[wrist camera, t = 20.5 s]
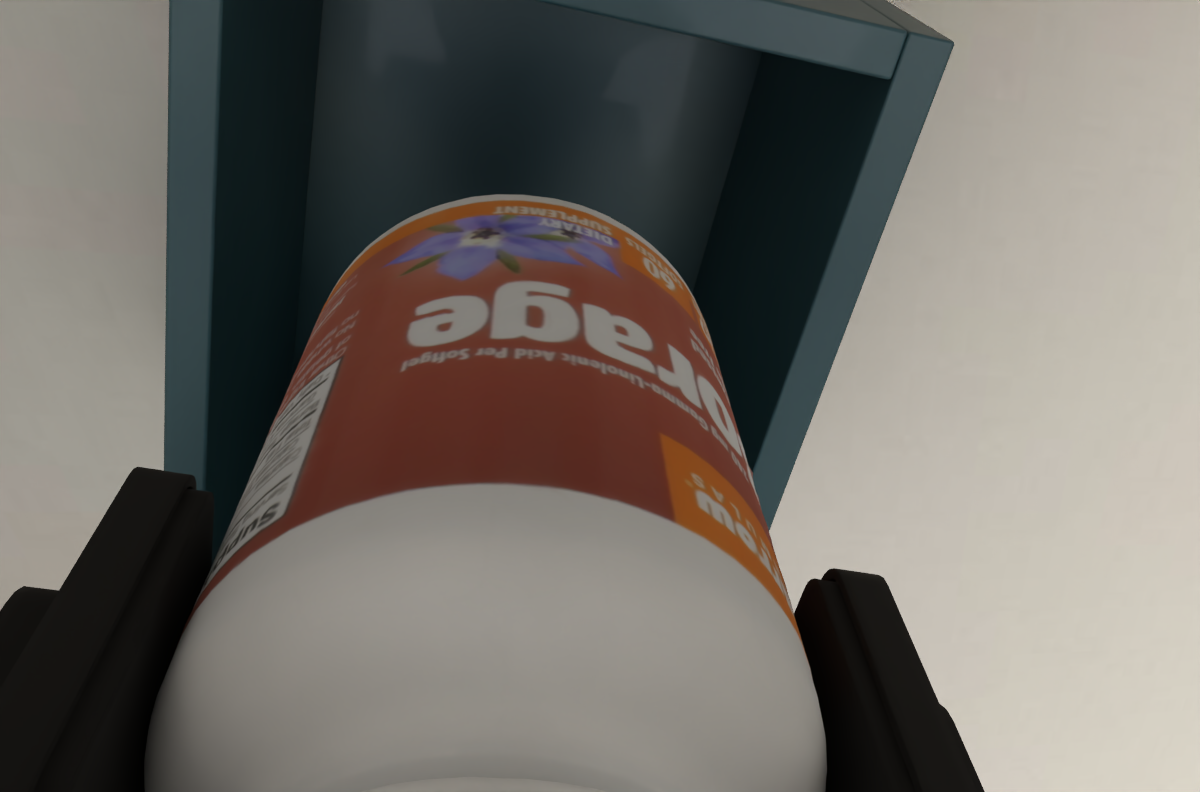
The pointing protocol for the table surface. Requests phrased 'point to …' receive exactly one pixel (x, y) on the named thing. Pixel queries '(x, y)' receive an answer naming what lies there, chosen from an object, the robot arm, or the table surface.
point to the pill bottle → (496, 541)
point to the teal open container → (529, 176)
